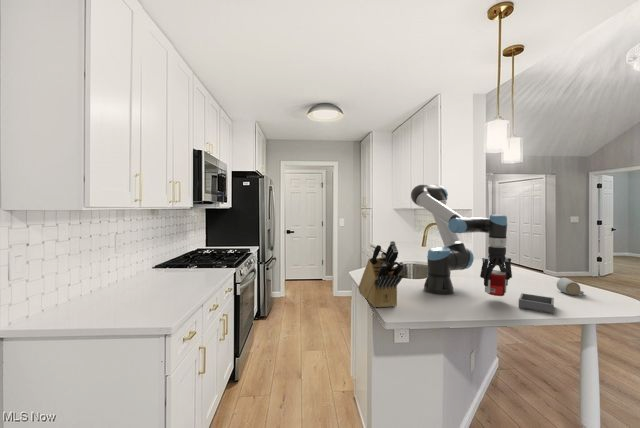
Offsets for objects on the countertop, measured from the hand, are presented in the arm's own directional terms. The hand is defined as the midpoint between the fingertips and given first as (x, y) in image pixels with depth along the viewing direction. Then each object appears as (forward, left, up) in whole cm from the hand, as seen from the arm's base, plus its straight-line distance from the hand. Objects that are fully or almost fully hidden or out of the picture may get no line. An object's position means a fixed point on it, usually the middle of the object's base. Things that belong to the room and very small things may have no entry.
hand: (495, 292), depth 151 cm
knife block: (-44, -38, -4) cm, 58 cm away
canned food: (0, 0, -1) cm, 1 cm away
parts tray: (+16, 0, -4) cm, 17 cm away
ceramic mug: (+30, +39, -4) cm, 49 cm away
